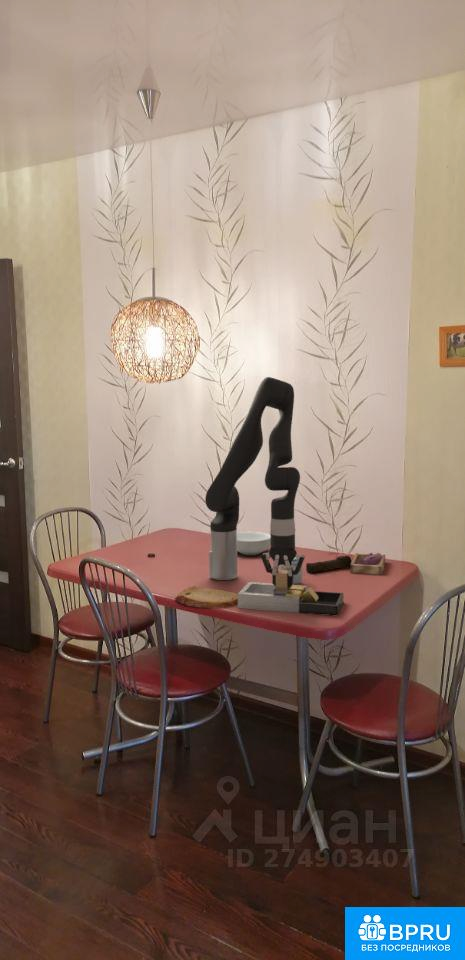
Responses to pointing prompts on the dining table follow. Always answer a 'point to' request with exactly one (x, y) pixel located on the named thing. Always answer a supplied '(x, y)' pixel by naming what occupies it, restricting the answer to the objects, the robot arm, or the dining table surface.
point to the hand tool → (329, 564)
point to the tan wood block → (294, 593)
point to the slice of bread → (207, 598)
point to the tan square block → (309, 596)
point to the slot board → (287, 600)
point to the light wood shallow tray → (366, 568)
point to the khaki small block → (298, 588)
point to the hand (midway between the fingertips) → (282, 586)
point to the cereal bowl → (252, 542)
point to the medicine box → (297, 577)
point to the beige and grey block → (281, 583)
